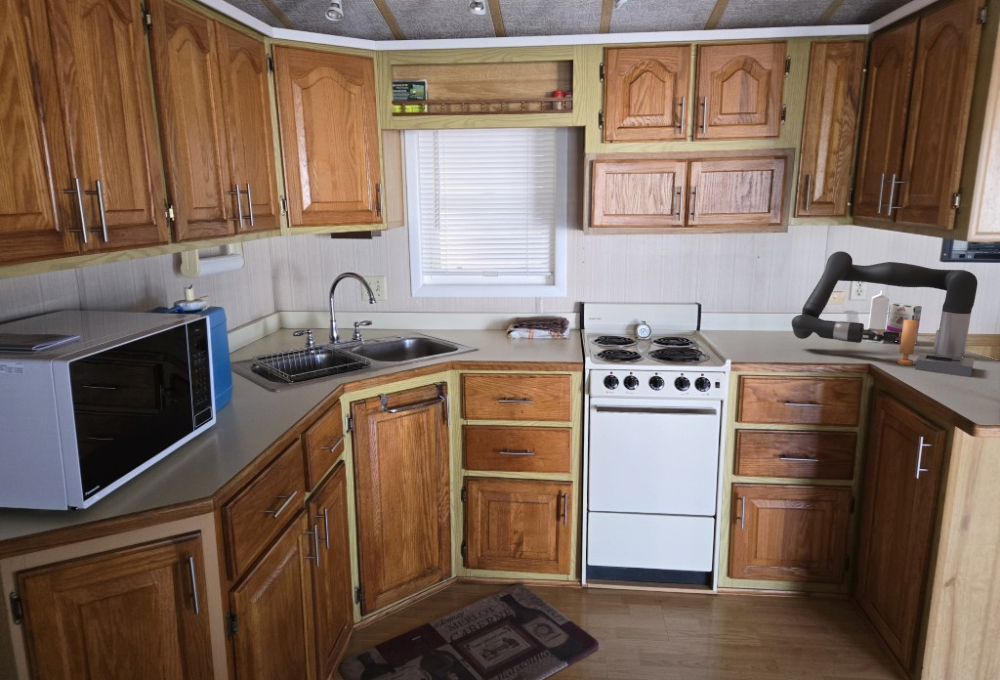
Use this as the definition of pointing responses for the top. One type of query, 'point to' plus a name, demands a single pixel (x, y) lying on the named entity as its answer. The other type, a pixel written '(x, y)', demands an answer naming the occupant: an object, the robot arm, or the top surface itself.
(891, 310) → the candy bar box
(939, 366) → the keyhole plate
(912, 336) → the post
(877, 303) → the milk
